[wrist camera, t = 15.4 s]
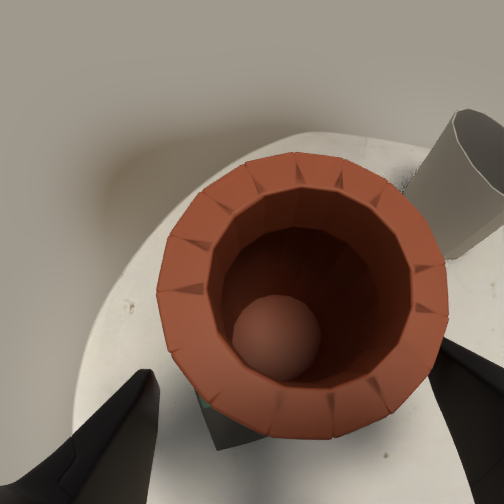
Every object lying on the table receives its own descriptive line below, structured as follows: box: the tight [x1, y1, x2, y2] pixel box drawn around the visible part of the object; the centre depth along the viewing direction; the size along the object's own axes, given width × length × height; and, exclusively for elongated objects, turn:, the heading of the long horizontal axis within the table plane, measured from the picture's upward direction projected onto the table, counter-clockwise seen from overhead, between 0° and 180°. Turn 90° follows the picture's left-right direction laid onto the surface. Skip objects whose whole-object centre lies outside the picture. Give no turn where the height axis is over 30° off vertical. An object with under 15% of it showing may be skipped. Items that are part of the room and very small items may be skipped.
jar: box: [156, 152, 449, 440], centre depth 11 cm, size 6×6×12 cm
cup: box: [403, 108, 504, 259], centre depth 19 cm, size 8×8×10 cm
